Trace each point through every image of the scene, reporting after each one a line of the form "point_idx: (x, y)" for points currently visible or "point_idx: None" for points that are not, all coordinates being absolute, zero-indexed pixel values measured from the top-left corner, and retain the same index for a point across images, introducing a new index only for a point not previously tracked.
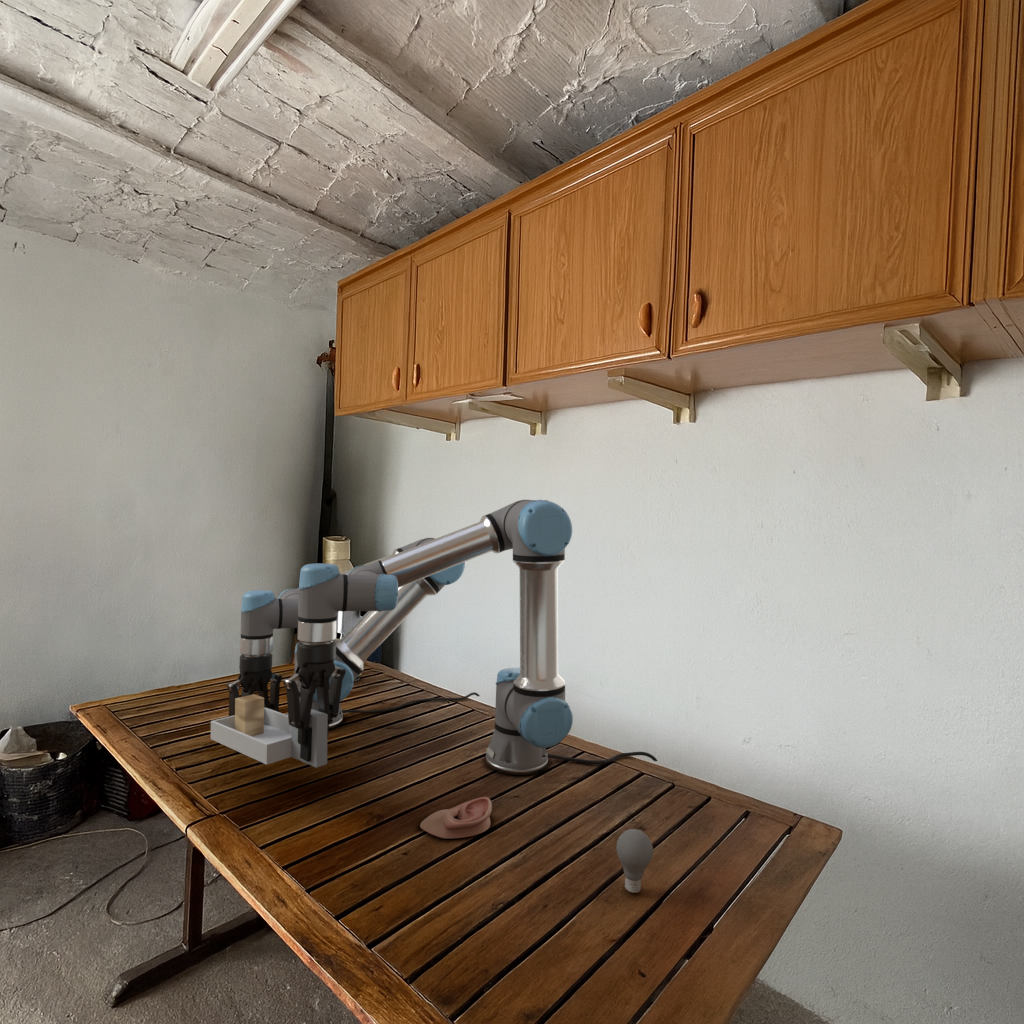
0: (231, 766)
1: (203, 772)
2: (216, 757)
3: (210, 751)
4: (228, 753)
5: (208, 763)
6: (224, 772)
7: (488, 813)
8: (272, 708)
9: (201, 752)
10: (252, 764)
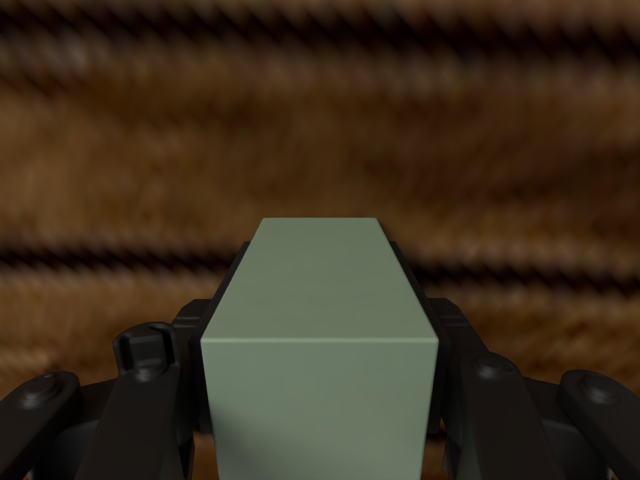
0: None
1: (8, 359)
2: (109, 240)
3: (104, 127)
4: (184, 234)
5: (51, 284)
6: None
7: None
8: (595, 453)
9: (49, 101)
10: None
